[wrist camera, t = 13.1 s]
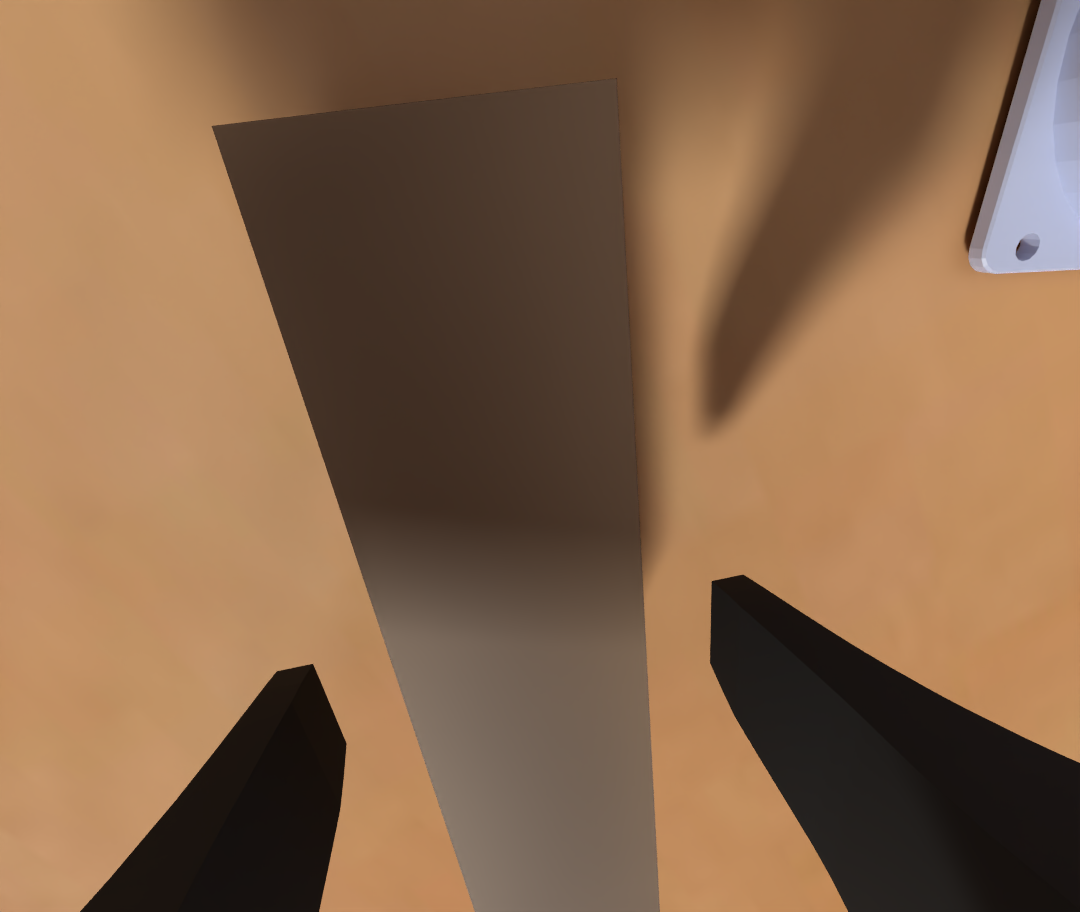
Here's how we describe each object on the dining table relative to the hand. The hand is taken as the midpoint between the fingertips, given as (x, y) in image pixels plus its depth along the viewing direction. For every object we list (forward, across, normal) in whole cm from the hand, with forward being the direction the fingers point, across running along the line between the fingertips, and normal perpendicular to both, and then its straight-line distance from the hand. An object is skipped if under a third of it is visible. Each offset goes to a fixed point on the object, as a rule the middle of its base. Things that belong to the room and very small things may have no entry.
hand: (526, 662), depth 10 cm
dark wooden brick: (+4, 0, -1) cm, 4 cm away
